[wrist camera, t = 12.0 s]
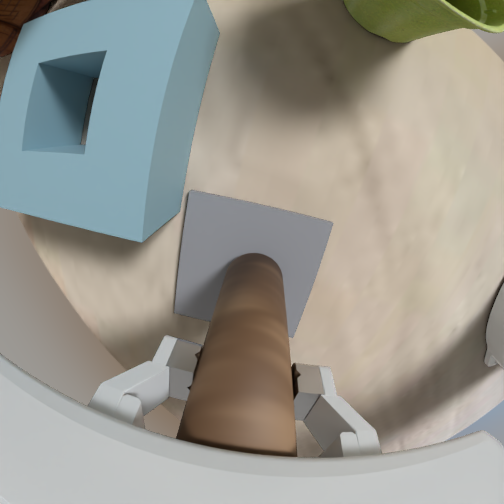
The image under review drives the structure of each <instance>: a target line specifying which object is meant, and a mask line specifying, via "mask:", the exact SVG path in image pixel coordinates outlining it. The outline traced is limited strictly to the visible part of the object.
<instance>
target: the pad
mask: <svg viewBox="0 0 504 504" xmlns="http://www.w3.org/2000/svg"><path fill="white" fill-rule="evenodd" d="M332 226H333V223H332V222H330V221H327V220H323V219H319V218H315V217H311V216H307V215H303V214H299V213H295V212H291V211H287V210H283V209H278V208H274V207H270V206H265V205H261V204H257V203H252V202H248V201H243V200H238V199H234V198H229V197H224V196H220V195H215V194H210V193H205V192H200V191H194V190H190V191H189V197H188V203H187V209H186V216H185V223H184V230H183V237H182V245H181V252H180V261H179V269H178V278H177V288H176V299H175V310H174V313H176V314H180V315H184V316H188V317H193V318H197V319H201V320H205V321H210V322H211V319H212V316H213V313H214V309H215V306H216V303H217V300H218V297H219V294H220V290H221V287H222V284H223V281H224V278H225V275H226V272H227V269H228V267H229V265H230V264H231V262H232V261H233V260H235V259H236V258H237V257H239V256H241V255H244V254H247V253H260V254H264V255H266V256H268V257H270V258H272V259H273V260H274V261H275V262H276V263H277V264H278V266H279V267H280V269H281V272H282V276H283V285H284V295H285V305H286V315H287V325H288V336H289V337H291V338H293V337H294V334H295V332H296V329H297V327H298V324H299V321H300V319H301V316H302V314H303V311H304V308H305V306H306V303H307V300H308V297H309V295H310V292H311V289H312V286H313V283H314V281H315V278H316V275H317V272H318V269H319V266H320V263H321V260H322V257H323V254H324V251H325V248H326V245H327V242H328V239H329V236H330V232H331V229H332Z"/></svg>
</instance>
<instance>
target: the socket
mask: <svg viewBox="0 0 504 504" xmlns="http://www.w3.org/2000/svg"><path fill="white" fill-rule="evenodd" d="M219 35H220V32H219V30H218V27H217V25H216V22H215V20H214V17H213V15H212V13H211V10H210V8H209V5H208V3H207V1H206V0H89V1H85V2H81V3H78V4H75V5H71V6H68V7H65V8H62V9H59V10H57V11H54V12H51V13H49V14H46V15H44V16H41V17H39V18H36V19H34V20H32V21H29V22H27V23H25V24H23V27H22V29H21V31H20V34H19V37H18V39H17V42H16V45H15V48H14V51H13V54H12V57H11V60H10V63H9V66H8V70H7V74H6V77H5V81H4V85H3V90H2V94H1V99H0V207H1V208H5V209H9V210H13V211H16V212H20V213H24V214H28V215H32V216H36V217H39V218H43V219H47V220H51V221H55V222H59V223H63V224H67V225H71V226H75V227H79V228H83V229H87V230H91V231H95V232H99V233H104V234H108V235H112V236H116V237H120V238H124V239H128V240H133V241H137V242H141V243H142V242H143V241H145V240H146V239H147V238H148V237H149V236H150V235H152V234H153V233H154V232H155V231H156V230H158V229H159V228H160V227H161V226H162V225H164V224H165V223H166V222H167V221H169V220H170V219H171V218H172V217H174V216H175V215H176V214H177V213H179V212H180V208H181V202H182V195H183V189H184V183H185V177H186V172H187V166H188V161H189V155H190V150H191V145H192V140H193V135H194V131H195V126H196V121H197V117H198V113H199V108H200V104H201V100H202V96H203V92H204V88H205V84H206V80H207V76H208V73H209V69H210V65H211V62H212V58H213V55H214V51H215V48H216V45H217V41H218V38H219ZM93 78H99V80H98V84H97V88H96V92H95V96H94V101H93V105H92V110H91V115H90V121H89V127H88V133H87V139H86V145H81V138H82V131H83V125H84V119H85V114H86V109H87V104H88V99H89V95H90V91H91V86H92V82H93Z"/></svg>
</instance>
